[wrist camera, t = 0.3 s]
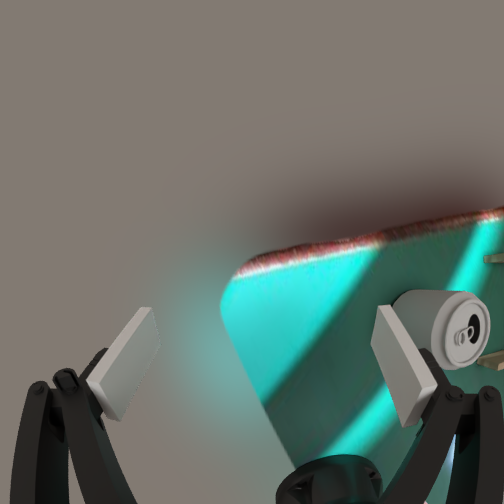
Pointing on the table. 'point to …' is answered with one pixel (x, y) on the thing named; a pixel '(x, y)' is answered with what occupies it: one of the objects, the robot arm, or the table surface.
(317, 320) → the table surface
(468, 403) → the robot arm
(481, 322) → the can
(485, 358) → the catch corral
